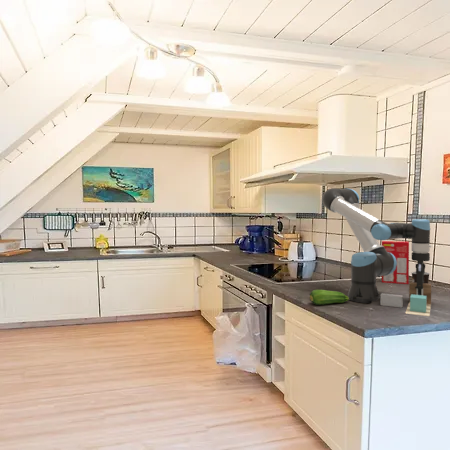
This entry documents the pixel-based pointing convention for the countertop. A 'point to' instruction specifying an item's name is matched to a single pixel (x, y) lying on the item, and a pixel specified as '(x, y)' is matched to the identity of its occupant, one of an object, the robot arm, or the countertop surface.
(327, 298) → the vegetable
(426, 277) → the coffee mug
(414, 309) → the teal block
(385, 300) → the gray rectangular block
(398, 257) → the food packaging
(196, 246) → the countertop surface
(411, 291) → the wooden l-shaped stand
